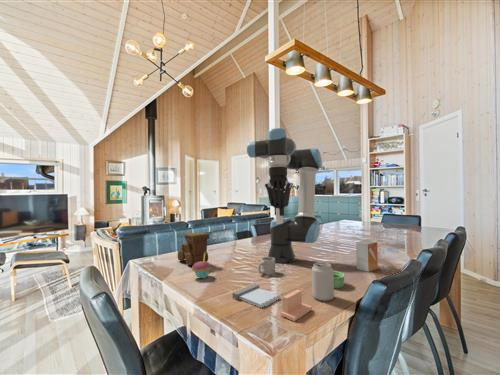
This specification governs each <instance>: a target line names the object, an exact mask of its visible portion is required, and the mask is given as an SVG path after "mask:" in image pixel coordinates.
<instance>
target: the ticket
mask: <svg viewBox="0 0 500 375" xmlns="http://www.w3.org/2000/svg"><path fill="white" fill-rule="evenodd" d="M233 298H235V299H234V300H236V299H237V300H236V301H238V299H239V300H240V299H241V301H242V300H243V302H245V301H246V302H245V303H247V302H248V304H249V303H251V304H250V305H252V304H253V306H254V305H256V306H255V307H257V306H258V307H257V308H259V307H261V308H260V309H263V308H265V307H267V306H269V305H271V304H273V303H275V302H276V300H277V301H279V300H280V299H281V295H280V294H276V293H274V292H271V291H268V290H266V289H262V288H261V286H260V284H257V283H253V284H251V285H248V286H246V287H243V288H240V289H238V290H236V291H234V292H232V299H233ZM278 299H279V300H278ZM274 301H275V302H274ZM272 302H273V303H272ZM270 303H271V304H270ZM264 306H265V307H264ZM262 307H263V308H262Z"/></svg>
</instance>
